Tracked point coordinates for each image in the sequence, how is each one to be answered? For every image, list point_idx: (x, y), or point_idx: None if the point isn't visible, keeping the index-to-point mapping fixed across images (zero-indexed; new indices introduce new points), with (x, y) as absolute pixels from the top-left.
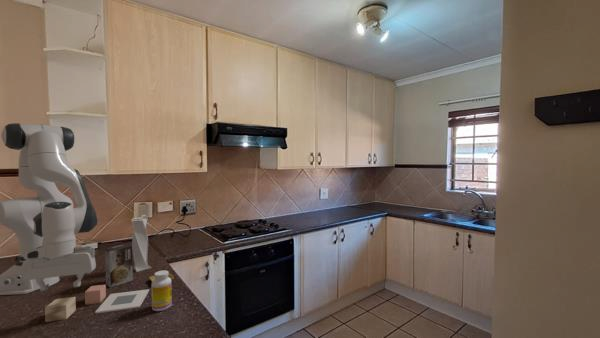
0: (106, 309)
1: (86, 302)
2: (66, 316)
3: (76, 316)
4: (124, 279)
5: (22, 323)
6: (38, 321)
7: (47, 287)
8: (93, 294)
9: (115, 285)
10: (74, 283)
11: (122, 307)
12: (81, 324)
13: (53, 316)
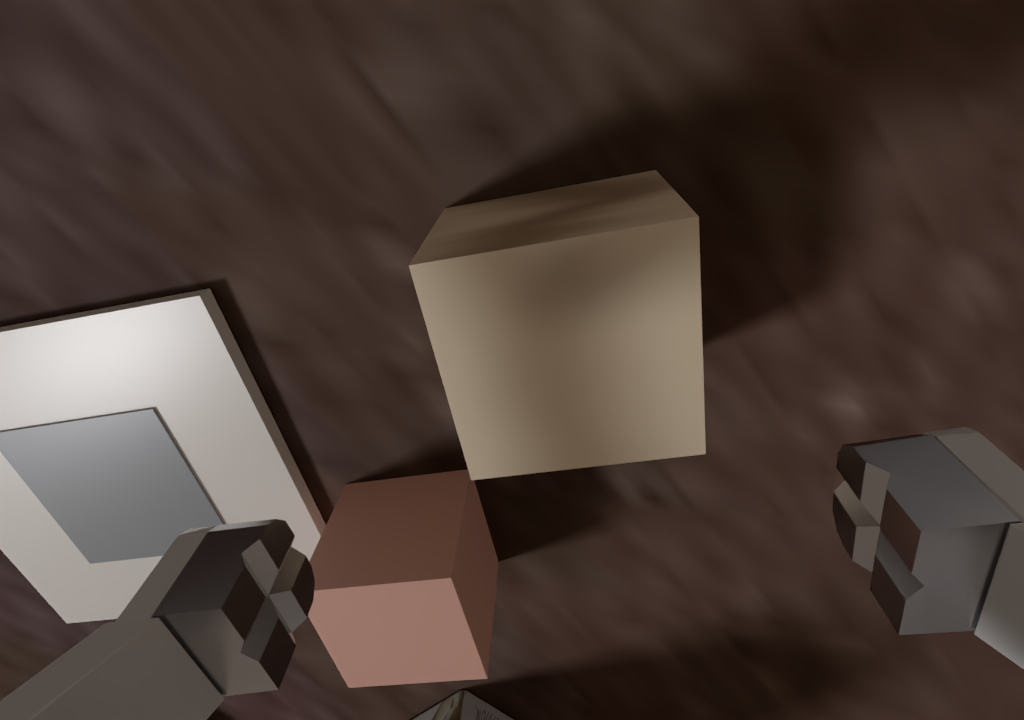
0: (120, 333)
1: (457, 484)
2: (440, 217)
3: (374, 254)
4: None
5: (920, 164)
6: (748, 191)
7: (865, 537)
8: (377, 550)
9: (437, 708)
10: (214, 587)
11: None
12: (154, 59)
13: (574, 198)
